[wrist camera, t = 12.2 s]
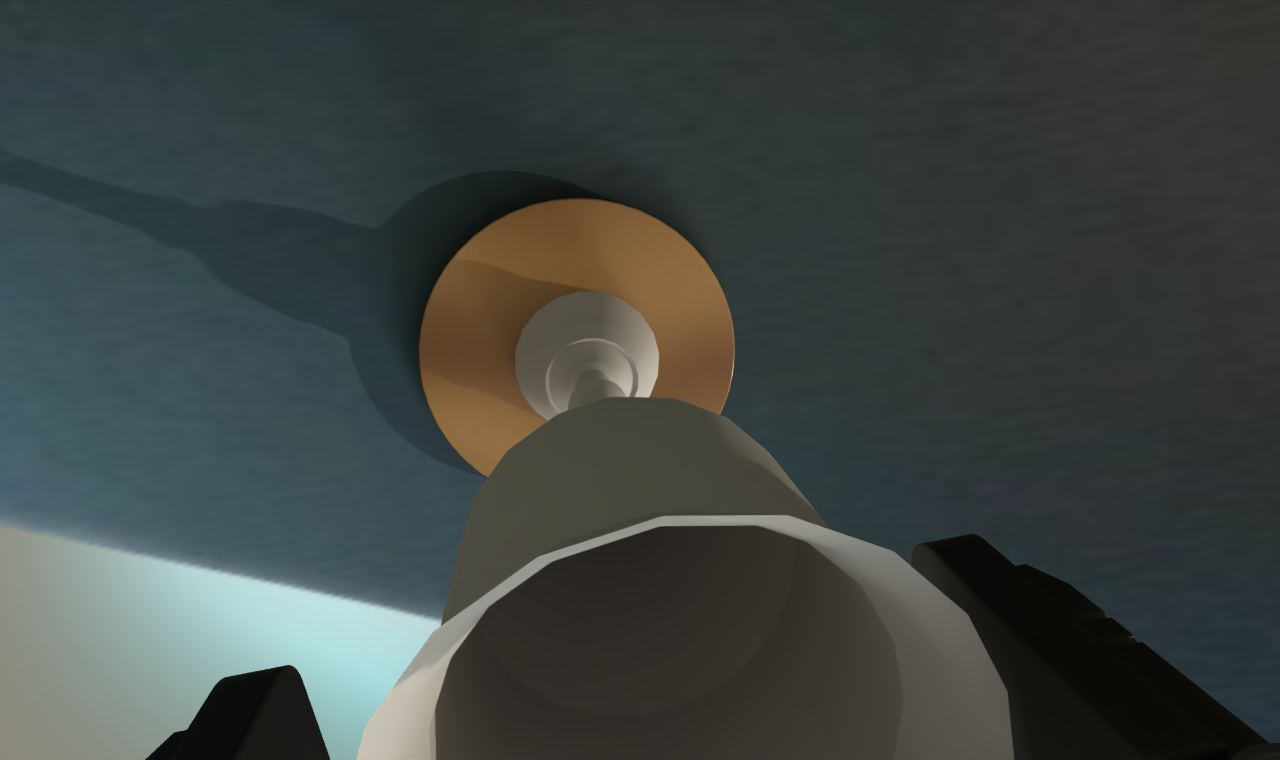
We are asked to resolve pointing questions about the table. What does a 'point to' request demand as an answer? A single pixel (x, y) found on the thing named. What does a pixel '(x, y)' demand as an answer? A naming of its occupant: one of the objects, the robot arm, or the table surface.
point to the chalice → (673, 595)
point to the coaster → (554, 267)
